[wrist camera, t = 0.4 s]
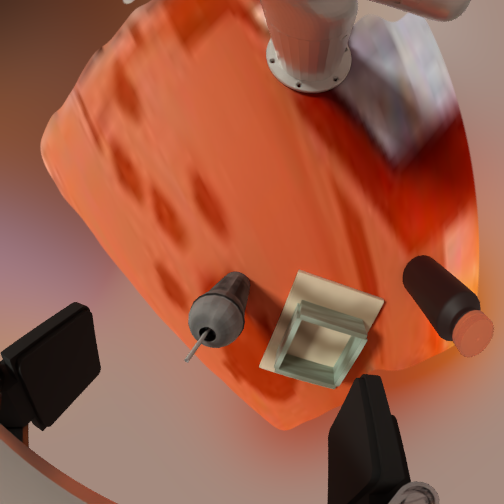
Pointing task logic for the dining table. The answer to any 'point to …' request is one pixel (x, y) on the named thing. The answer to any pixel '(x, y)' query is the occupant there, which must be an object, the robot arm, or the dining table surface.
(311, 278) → the bottle caddy
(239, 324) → the beverage cup
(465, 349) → the vinegar
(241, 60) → the dining table surface
